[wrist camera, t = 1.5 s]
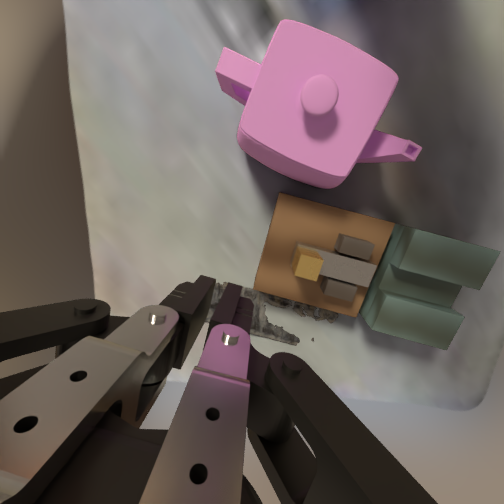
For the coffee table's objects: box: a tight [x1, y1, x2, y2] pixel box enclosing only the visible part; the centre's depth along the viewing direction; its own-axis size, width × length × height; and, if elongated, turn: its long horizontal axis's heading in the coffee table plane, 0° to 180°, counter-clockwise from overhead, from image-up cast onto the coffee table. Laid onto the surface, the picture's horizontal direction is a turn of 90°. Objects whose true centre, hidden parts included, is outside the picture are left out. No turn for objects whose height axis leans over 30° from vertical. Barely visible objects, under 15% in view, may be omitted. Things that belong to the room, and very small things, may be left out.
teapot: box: [215, 20, 422, 189], centre depth 22 cm, size 18×10×10 cm, turn 66°
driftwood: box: [206, 282, 338, 346], centre depth 32 cm, size 21×7×2 cm, turn 75°
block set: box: [253, 192, 500, 350], centre depth 27 cm, size 11×21×6 cm, turn 75°
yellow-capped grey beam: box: [290, 241, 377, 287], centre depth 23 cm, size 2×8×5 cm, turn 75°
